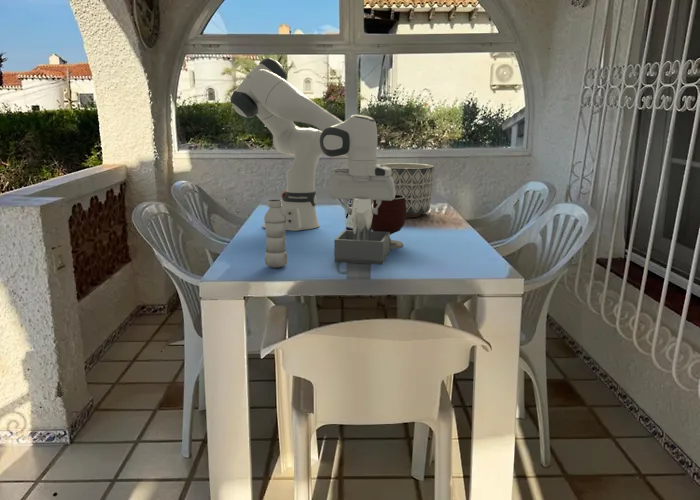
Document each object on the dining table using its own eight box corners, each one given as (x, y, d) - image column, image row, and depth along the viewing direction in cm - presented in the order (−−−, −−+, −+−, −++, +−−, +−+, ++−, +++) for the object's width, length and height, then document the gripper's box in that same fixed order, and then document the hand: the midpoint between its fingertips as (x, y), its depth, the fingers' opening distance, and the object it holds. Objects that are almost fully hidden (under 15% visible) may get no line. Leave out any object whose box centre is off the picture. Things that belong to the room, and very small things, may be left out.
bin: (334, 261, 179) (334, 239, 177) (344, 250, 193) (344, 230, 191) (382, 264, 176) (383, 241, 174) (389, 252, 190) (389, 231, 188)
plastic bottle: (265, 264, 175) (263, 198, 171) (288, 264, 176) (286, 198, 171) (264, 270, 169) (262, 202, 164) (287, 269, 170) (286, 201, 165)
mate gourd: (413, 245, 201) (415, 187, 197) (387, 251, 192) (388, 191, 187) (380, 238, 212) (381, 183, 207) (353, 244, 202) (353, 187, 198)
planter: (433, 210, 271) (434, 163, 266) (430, 220, 246) (432, 168, 241) (377, 209, 276) (378, 162, 270) (370, 218, 251) (370, 167, 246)
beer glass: (370, 247, 179) (372, 199, 176) (348, 245, 181) (349, 198, 177) (373, 242, 186) (375, 196, 182) (352, 240, 187) (353, 194, 184)
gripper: (327, 169, 177) (327, 214, 180) (393, 171, 173) (392, 216, 176) (331, 167, 183) (332, 210, 186) (396, 169, 179) (395, 213, 182)
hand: (362, 213), depth 181 cm, fingers closed on beer glass, 7 cm apart
